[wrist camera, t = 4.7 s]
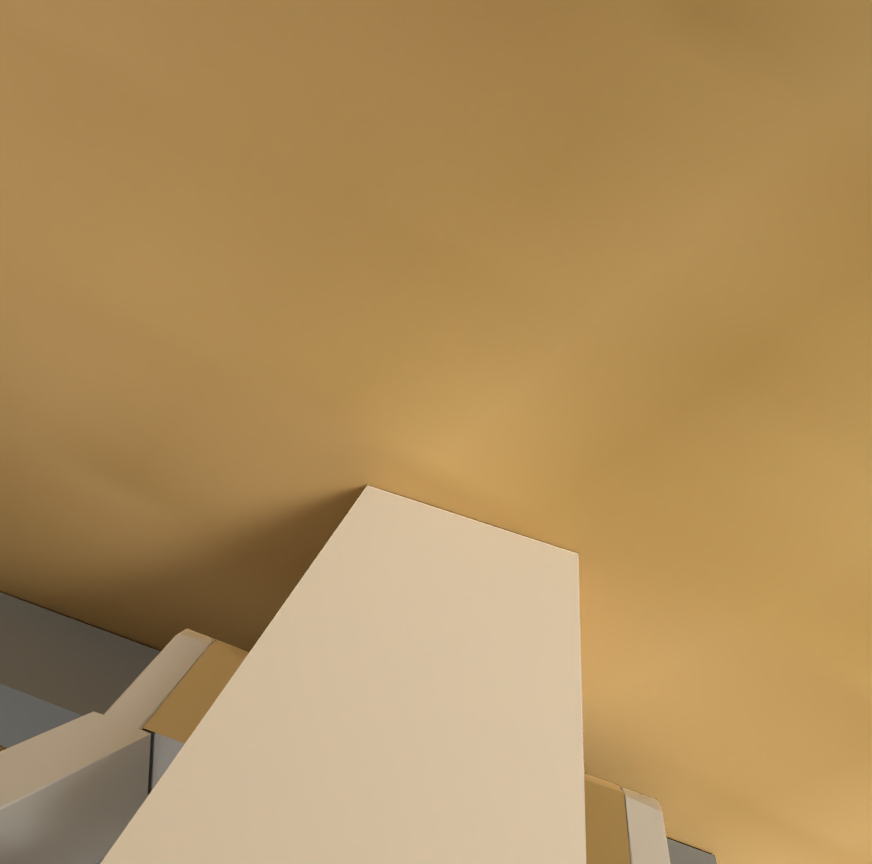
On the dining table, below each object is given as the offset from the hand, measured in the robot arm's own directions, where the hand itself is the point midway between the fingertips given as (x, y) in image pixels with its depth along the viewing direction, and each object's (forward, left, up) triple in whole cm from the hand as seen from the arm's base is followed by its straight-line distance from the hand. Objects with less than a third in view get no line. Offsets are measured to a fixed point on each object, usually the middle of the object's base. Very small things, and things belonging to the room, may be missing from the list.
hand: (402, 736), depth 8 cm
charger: (0, 0, -3) cm, 3 cm away
